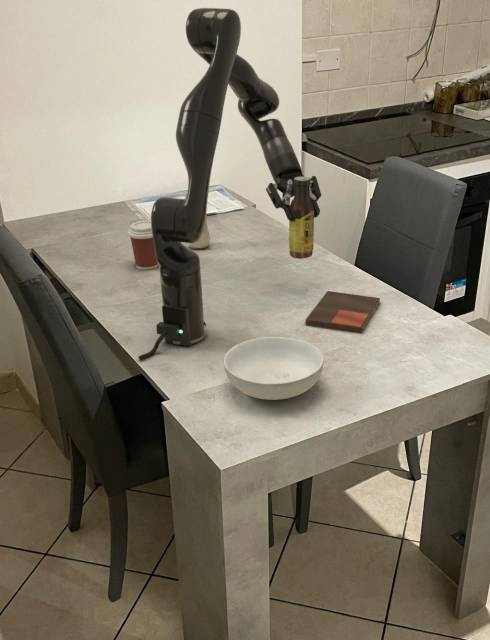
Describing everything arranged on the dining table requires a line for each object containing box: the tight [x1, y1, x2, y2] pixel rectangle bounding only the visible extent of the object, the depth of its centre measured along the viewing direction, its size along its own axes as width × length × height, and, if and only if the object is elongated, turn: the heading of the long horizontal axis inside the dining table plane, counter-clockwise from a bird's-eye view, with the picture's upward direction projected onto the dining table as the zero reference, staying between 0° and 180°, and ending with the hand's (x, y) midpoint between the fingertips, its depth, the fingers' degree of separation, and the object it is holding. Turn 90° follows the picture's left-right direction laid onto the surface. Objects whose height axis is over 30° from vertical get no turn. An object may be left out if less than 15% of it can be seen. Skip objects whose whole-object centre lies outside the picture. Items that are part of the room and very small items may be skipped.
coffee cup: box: [126, 220, 159, 271], centre depth 226 cm, size 9×9×12 cm
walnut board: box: [305, 290, 381, 334], centre depth 200 cm, size 18×14×2 cm
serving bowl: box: [223, 336, 325, 401], centre depth 168 cm, size 21×21×7 cm
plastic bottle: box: [184, 191, 211, 249], centre depth 236 cm, size 6×7×20 cm
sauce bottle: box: [288, 176, 315, 260], centre depth 201 cm, size 7×6×20 cm
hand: (305, 218), depth 199 cm, fingers closed on sauce bottle, 6 cm apart
